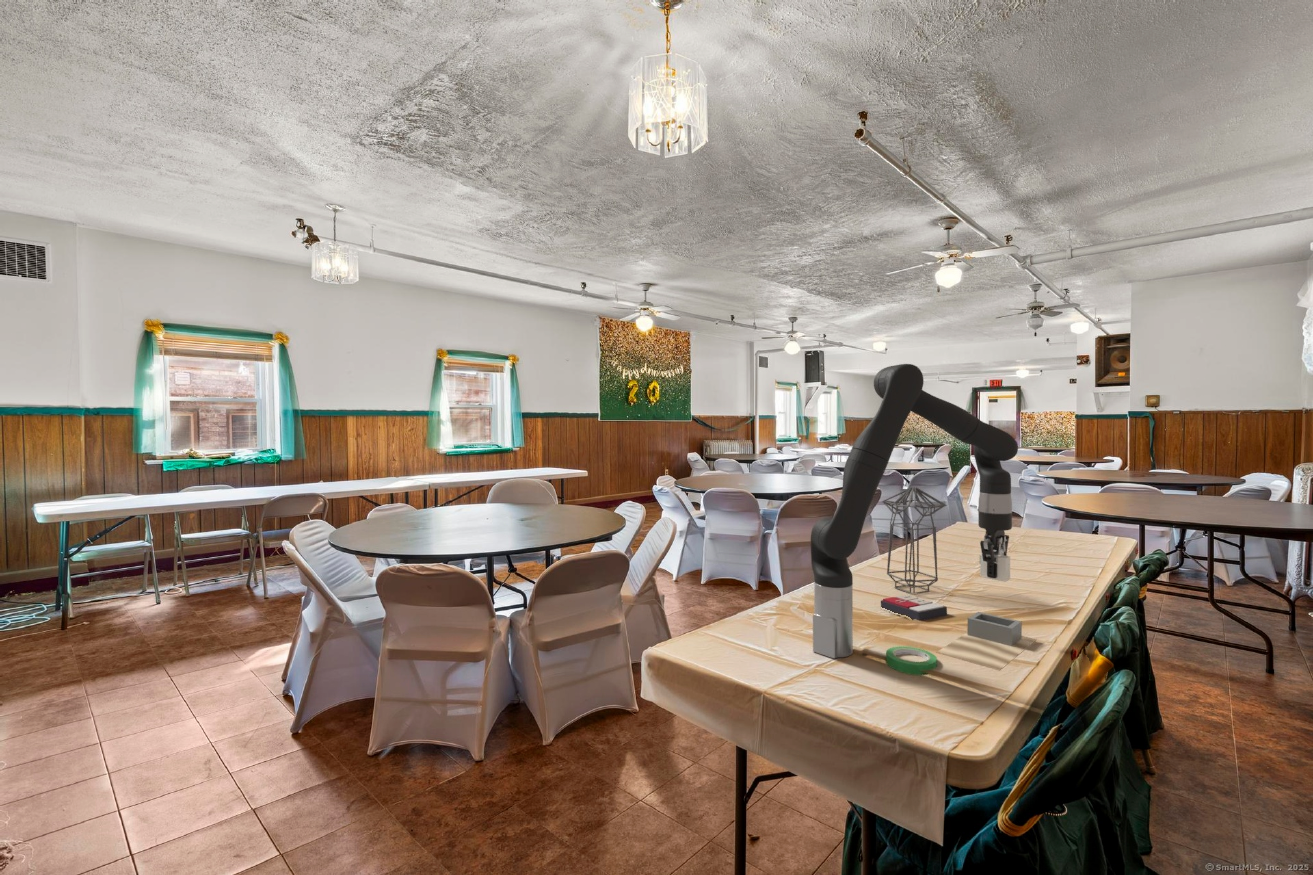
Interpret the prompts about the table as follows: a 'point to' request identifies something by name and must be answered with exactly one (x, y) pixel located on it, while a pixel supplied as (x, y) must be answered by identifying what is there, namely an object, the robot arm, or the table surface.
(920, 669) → the tape roll
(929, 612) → the calculator
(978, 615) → the end holder
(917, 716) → the table surface
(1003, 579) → the white block
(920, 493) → the geometric lantern
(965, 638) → the beige mat
